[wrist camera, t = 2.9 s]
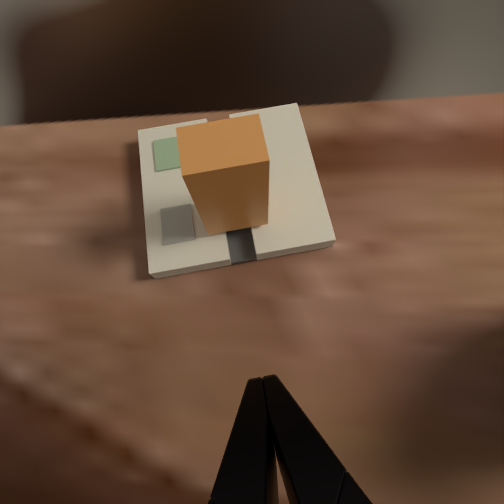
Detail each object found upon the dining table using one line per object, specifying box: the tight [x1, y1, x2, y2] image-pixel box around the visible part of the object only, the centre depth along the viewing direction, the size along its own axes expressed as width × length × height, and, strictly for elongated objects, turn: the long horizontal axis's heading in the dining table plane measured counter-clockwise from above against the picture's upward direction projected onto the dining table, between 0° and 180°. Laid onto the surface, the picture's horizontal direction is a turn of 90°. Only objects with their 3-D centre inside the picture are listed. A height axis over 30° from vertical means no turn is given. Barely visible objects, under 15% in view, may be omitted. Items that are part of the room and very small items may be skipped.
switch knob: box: [176, 113, 270, 235], centre depth 21 cm, size 3×4×9 cm, turn 100°
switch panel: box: [138, 103, 336, 279], centre depth 26 cm, size 13×14×2 cm
